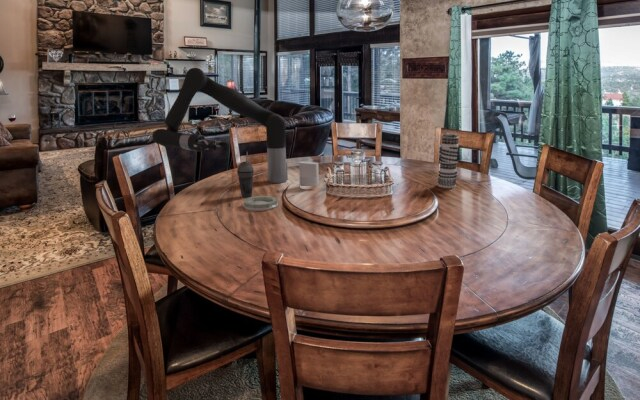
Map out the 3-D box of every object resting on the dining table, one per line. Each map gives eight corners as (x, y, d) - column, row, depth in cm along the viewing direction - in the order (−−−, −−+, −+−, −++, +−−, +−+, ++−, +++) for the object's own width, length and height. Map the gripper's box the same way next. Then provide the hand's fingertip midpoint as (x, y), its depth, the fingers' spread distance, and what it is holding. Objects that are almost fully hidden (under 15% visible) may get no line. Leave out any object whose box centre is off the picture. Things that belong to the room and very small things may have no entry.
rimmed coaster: (259, 199, 189) (258, 194, 189) (284, 204, 182) (284, 198, 181) (236, 207, 178) (235, 201, 178) (262, 213, 171) (262, 206, 170)
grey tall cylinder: (458, 184, 213) (462, 132, 206) (455, 189, 205) (459, 135, 198) (438, 182, 217) (442, 131, 210) (435, 187, 209) (438, 134, 202)
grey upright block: (296, 188, 207) (296, 163, 204) (304, 184, 215) (304, 160, 212) (314, 190, 204) (313, 165, 200) (321, 186, 212) (321, 161, 208)
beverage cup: (239, 194, 198) (236, 150, 192) (255, 194, 198) (253, 150, 193) (237, 198, 191) (235, 153, 185) (254, 198, 191) (252, 152, 186)
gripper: (181, 135, 191) (212, 139, 186) (202, 132, 204) (231, 136, 198) (182, 152, 194) (212, 157, 188) (202, 148, 206) (231, 152, 200)
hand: (222, 146), depth 193 cm, fingers open, 8 cm apart
